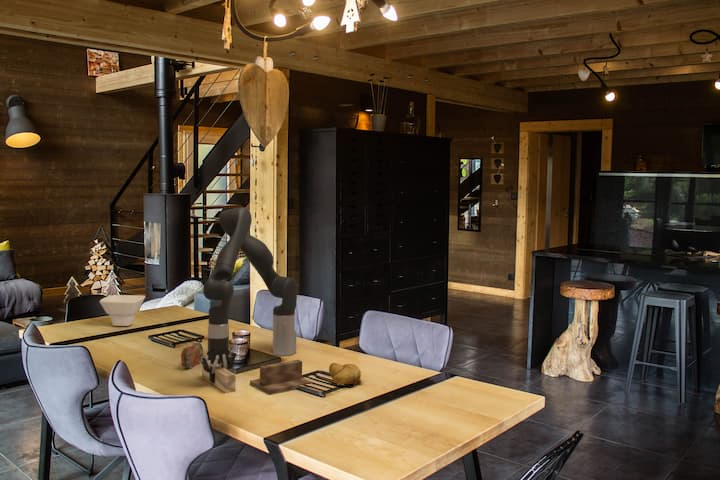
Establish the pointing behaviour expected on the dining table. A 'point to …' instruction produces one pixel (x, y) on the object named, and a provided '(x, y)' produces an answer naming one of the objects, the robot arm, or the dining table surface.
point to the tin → (191, 355)
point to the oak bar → (222, 378)
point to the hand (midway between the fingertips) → (218, 381)
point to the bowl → (122, 308)
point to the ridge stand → (280, 377)
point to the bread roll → (344, 373)
